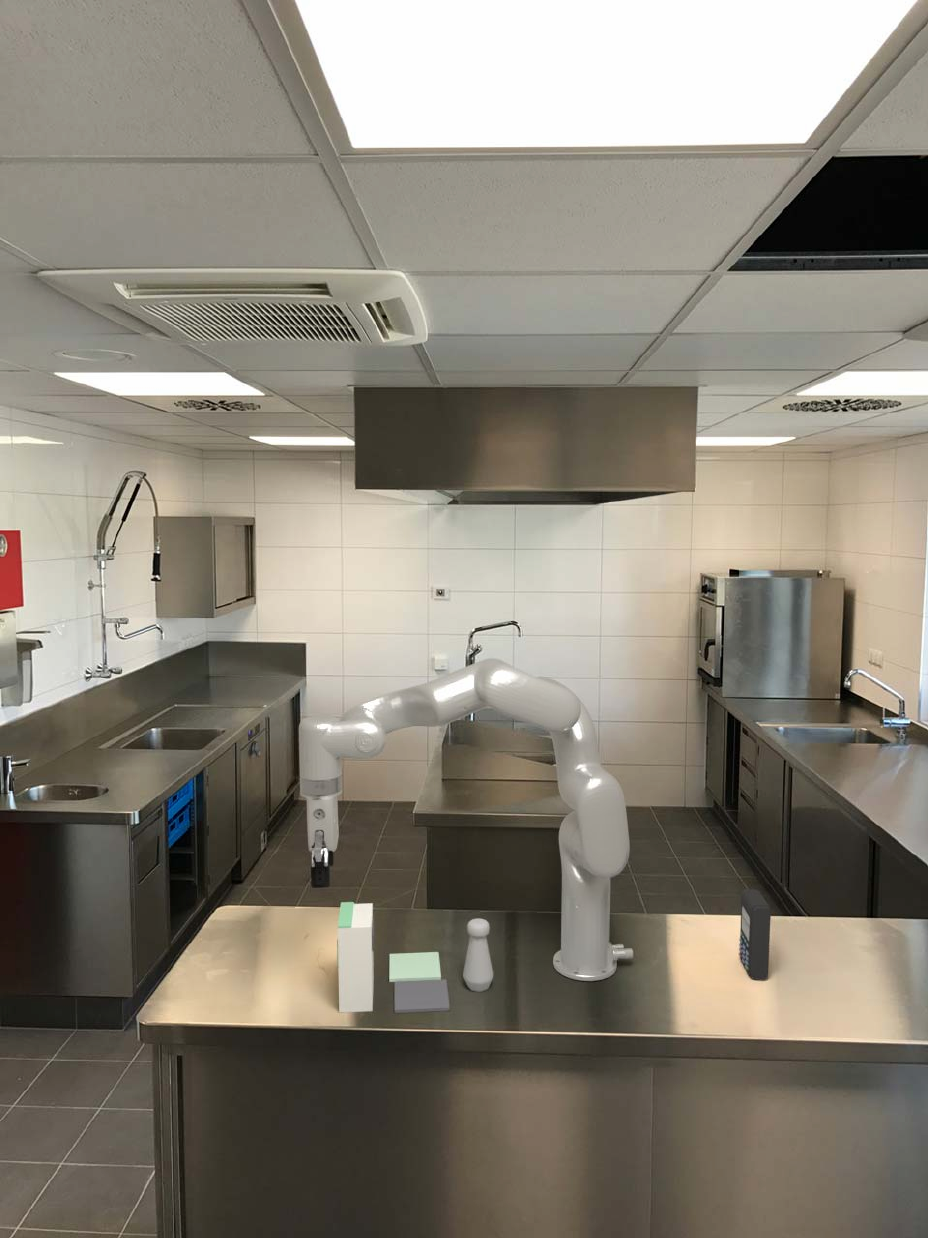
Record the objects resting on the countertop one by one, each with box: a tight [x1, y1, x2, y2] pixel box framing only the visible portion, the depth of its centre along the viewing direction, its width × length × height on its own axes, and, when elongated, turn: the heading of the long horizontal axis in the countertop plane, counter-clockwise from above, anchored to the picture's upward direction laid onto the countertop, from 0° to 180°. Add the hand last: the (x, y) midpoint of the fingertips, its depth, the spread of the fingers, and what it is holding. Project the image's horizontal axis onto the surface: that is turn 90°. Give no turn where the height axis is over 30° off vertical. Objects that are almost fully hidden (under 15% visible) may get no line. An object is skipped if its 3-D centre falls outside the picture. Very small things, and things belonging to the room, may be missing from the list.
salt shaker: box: [462, 918, 494, 993], centre depth 168 cm, size 6×6×13 cm
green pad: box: [388, 951, 442, 983], centre depth 176 cm, size 10×10×1 cm
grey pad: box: [394, 978, 450, 1014], centre depth 165 cm, size 10×10×1 cm
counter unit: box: [336, 901, 375, 1014], centre depth 164 cm, size 7×10×16 cm, turn 5°
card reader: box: [738, 888, 772, 981], centre depth 174 cm, size 9×4×15 cm, turn 177°
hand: (322, 876), depth 161 cm, fingers open, 9 cm apart
